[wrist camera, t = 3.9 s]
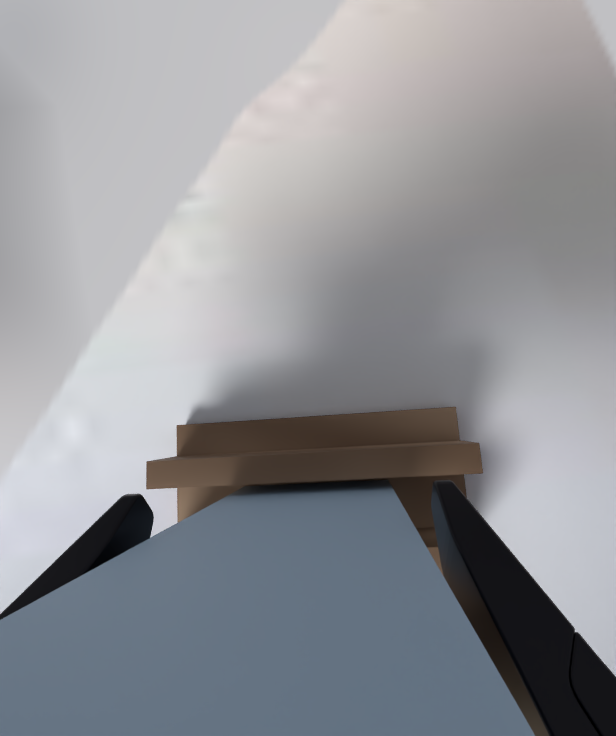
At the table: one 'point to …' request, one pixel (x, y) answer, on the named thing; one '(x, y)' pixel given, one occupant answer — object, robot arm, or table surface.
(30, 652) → the board
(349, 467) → the rack
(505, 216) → the table surface
